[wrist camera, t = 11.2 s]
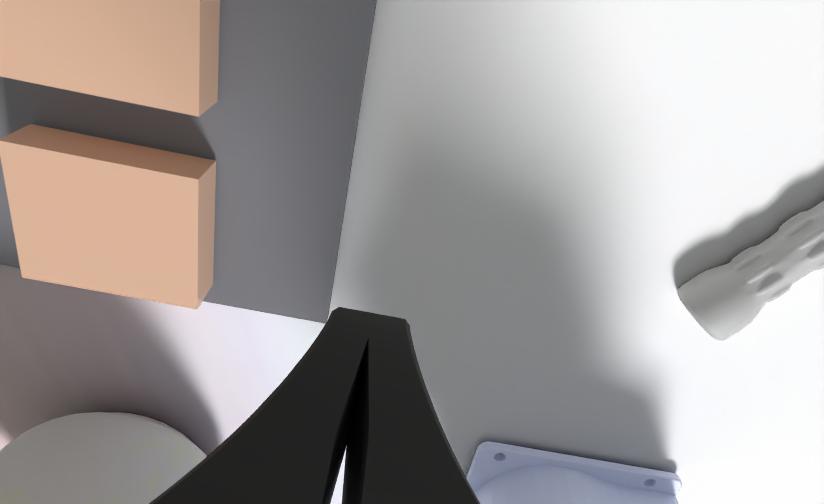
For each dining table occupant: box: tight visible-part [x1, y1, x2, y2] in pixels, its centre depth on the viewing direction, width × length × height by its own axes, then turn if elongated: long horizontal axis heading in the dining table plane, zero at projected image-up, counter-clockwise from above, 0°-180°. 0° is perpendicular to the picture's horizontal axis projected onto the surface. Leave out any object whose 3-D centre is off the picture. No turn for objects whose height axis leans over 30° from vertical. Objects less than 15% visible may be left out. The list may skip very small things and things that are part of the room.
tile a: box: [0, 124, 216, 309], centre depth 19 cm, size 2×5×6 cm
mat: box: [0, 0, 377, 323], centre depth 18 cm, size 14×14×1 cm
